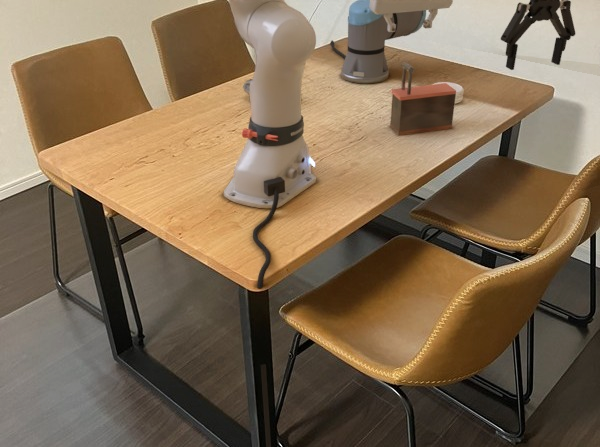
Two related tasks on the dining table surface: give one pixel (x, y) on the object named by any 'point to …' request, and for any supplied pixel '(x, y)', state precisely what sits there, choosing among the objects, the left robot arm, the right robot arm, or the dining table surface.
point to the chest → (422, 114)
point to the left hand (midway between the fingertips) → (409, 29)
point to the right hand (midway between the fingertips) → (532, 65)
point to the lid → (419, 87)
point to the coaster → (458, 89)
